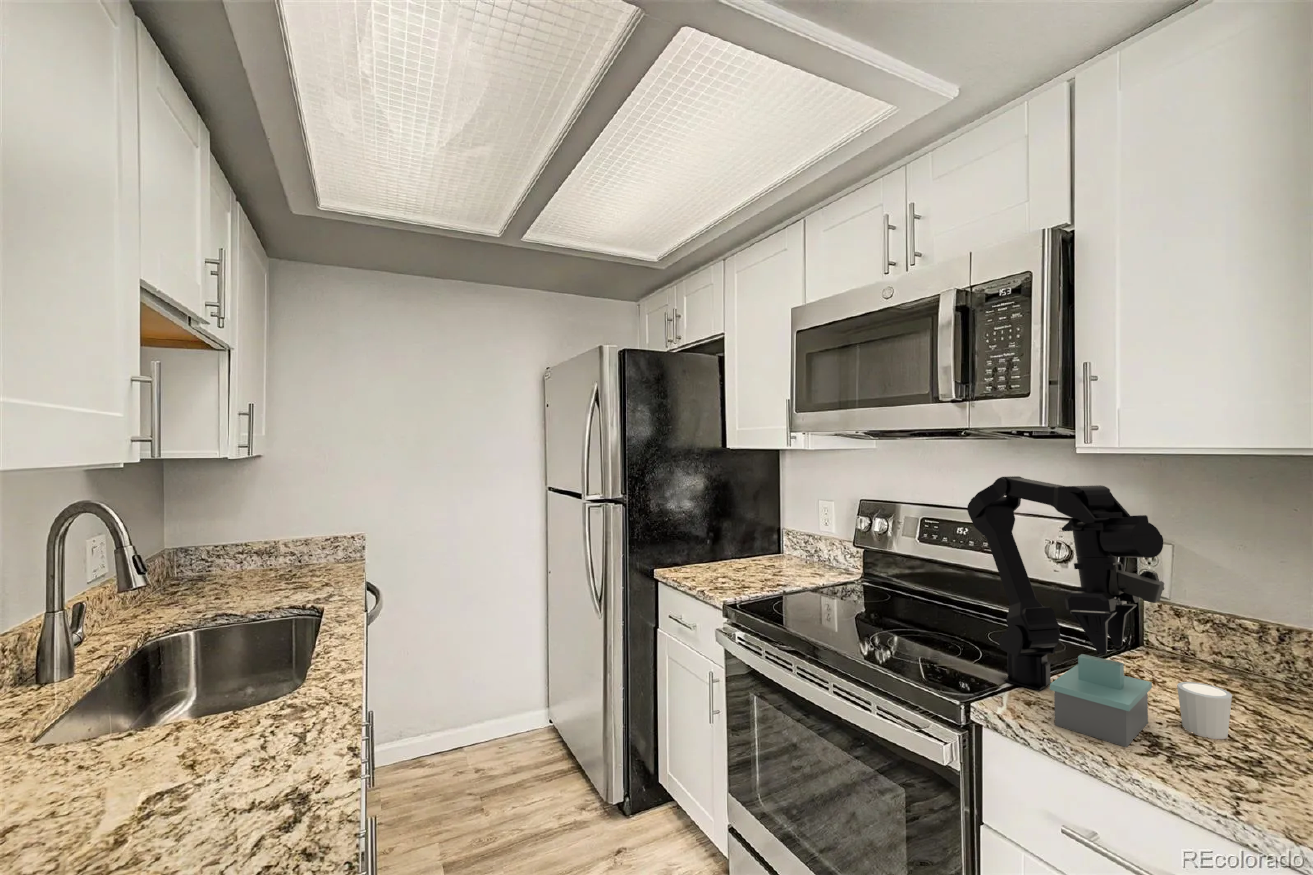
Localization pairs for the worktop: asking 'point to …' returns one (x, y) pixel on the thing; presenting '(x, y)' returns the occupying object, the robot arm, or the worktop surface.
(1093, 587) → the robot arm
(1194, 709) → the white cup
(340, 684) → the worktop surface
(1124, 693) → the lid
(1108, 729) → the tub
